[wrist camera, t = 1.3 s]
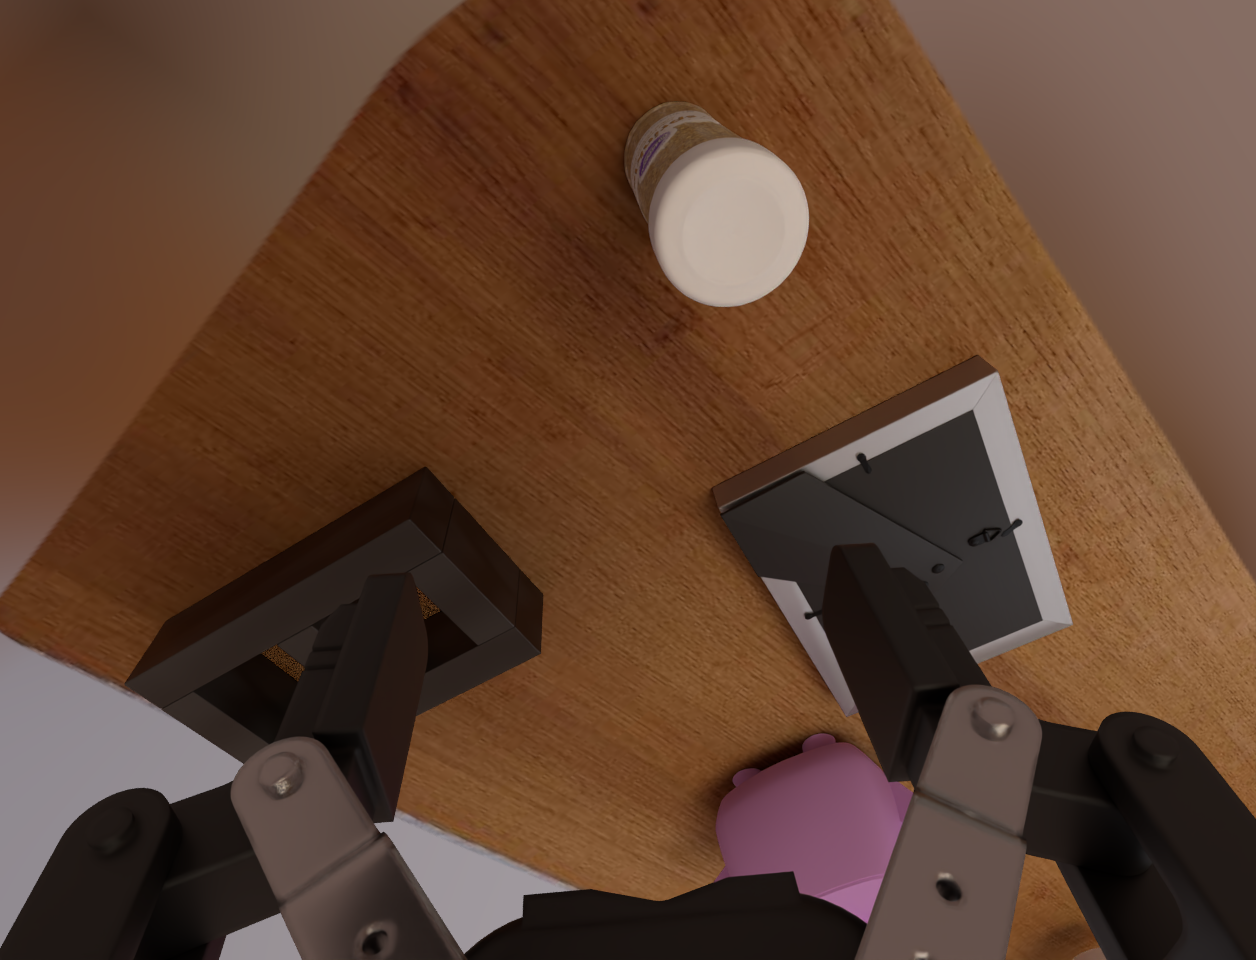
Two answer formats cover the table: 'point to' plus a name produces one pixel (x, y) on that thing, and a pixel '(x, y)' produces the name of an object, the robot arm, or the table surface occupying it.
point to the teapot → (815, 823)
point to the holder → (315, 587)
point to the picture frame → (908, 516)
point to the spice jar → (715, 205)
